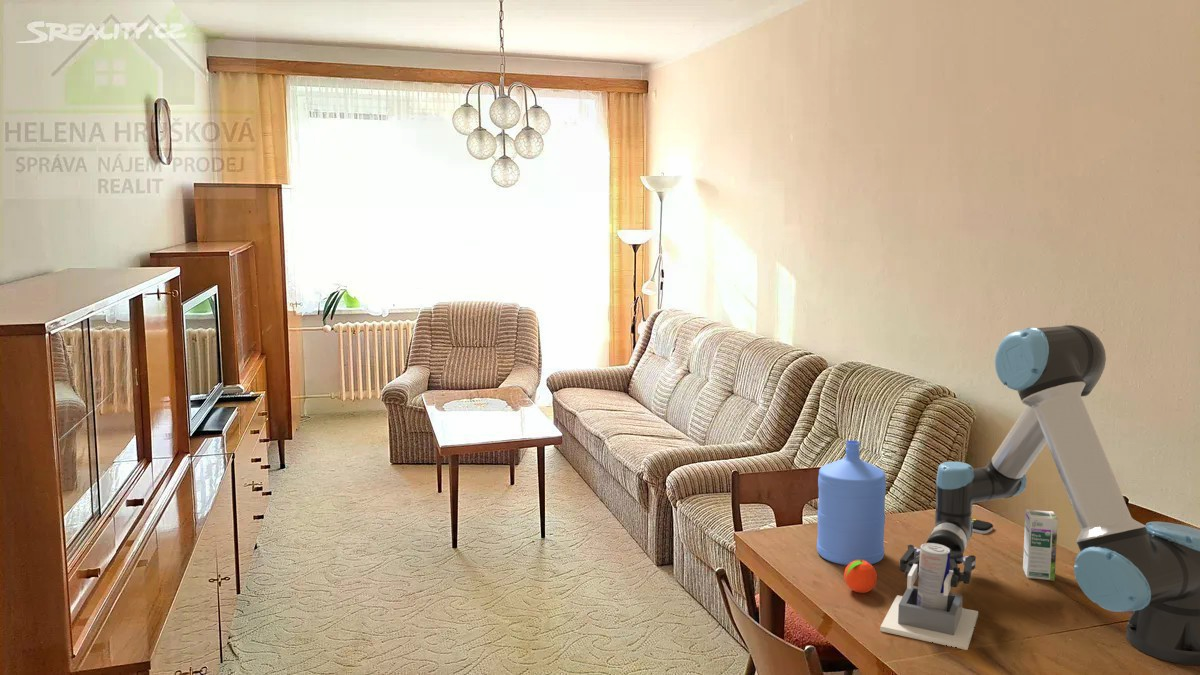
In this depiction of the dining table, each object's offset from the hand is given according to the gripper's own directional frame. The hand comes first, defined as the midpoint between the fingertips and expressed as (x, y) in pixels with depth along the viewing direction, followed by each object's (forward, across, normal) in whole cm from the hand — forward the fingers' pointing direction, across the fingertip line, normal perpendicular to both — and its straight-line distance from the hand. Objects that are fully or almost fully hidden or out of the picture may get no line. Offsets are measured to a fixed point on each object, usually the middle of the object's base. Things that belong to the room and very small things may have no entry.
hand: (927, 585), depth 167 cm
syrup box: (-41, -17, -10) cm, 46 cm away
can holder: (-5, 0, -10) cm, 11 cm away
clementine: (-13, +16, -10) cm, 23 cm away
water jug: (-33, +23, -10) cm, 42 cm away
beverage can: (-5, 0, -9) cm, 10 cm away
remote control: (-67, +1, -11) cm, 68 cm away
